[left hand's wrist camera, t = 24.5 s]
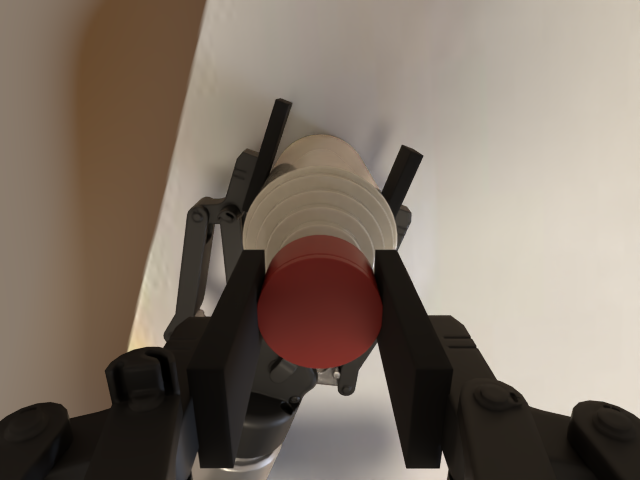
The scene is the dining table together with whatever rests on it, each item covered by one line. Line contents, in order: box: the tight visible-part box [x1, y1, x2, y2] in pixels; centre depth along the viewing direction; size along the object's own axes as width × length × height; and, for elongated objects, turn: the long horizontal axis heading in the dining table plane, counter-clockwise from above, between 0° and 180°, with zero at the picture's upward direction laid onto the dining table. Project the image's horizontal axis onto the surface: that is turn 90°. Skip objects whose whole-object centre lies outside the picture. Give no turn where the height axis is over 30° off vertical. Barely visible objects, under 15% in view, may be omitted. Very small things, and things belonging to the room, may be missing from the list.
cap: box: [257, 235, 383, 369], centre depth 14 cm, size 4×4×2 cm
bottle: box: [243, 134, 397, 272], centre depth 22 cm, size 7×7×19 cm
